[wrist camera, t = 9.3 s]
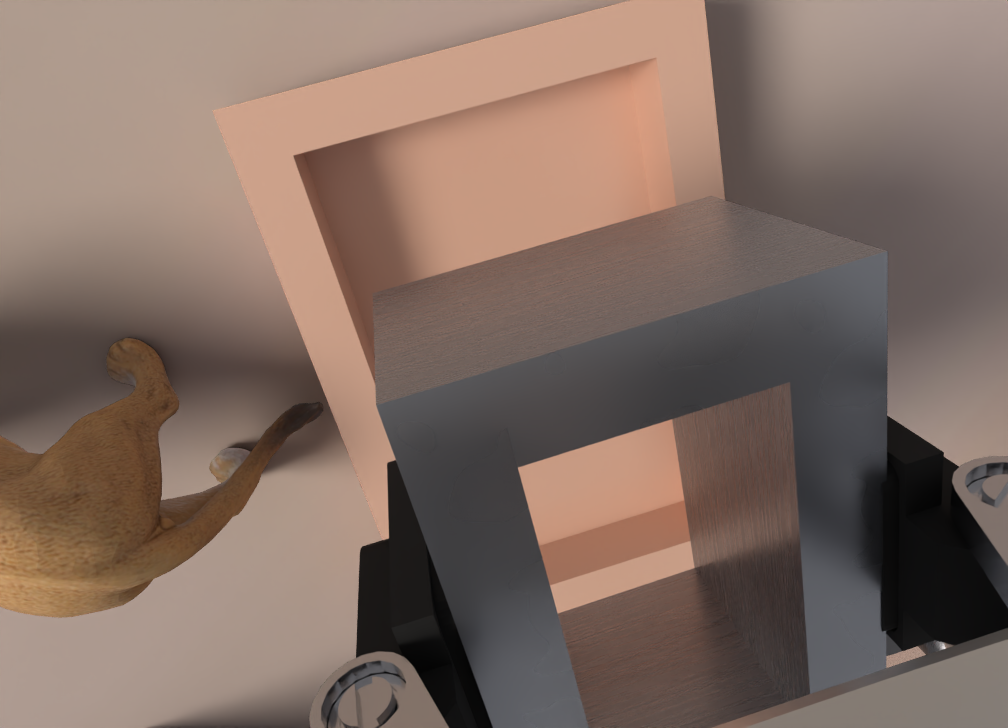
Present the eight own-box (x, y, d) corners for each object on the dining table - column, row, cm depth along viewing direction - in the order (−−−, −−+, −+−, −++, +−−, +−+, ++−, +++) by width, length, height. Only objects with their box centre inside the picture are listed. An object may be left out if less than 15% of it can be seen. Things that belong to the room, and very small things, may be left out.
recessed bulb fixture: (711, 195, 11) (887, 250, 7) (753, 592, 14) (885, 765, 11) (372, 293, 10) (375, 405, 7) (503, 678, 14) (551, 887, 10)
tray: (724, 505, 22) (761, 550, 20) (424, 600, 22) (429, 657, 20) (658, -4, 16) (702, -19, 14) (236, 108, 16) (212, 110, 13)
